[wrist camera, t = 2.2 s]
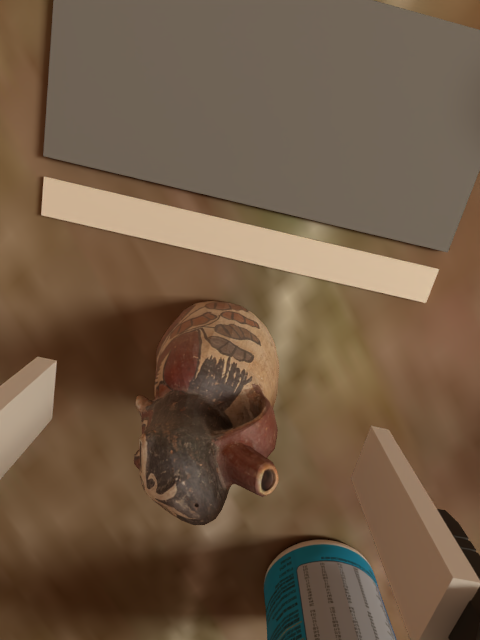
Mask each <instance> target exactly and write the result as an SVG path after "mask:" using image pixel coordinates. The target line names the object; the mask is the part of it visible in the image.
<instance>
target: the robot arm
mask: <svg viewBox="0 0 480 640" xmlns="http://www.w3.org/2000/svg"><path fill="white" fill-rule="evenodd" d="M56 365H57V361H56V360H52V359H47V358H42V357H36V358H35V359H34V360H33V361H31V362H30V363H29V364H27V365H26V366H25V367H24V368H22V369H21V370H20V371H19V372H17V373H16V374H15V375H13V376H12V377H11V378H10V379H8V380H7V381H6V382H4V383H3V384H2V385H1V386H0V479H1V478H2V477H3V476H4V474H5V473H6V472H7V471H8V470H9V469H10V467H11V466H12V465H13V464H14V463H15V462H16V460H17V459H18V458H19V457H20V456H21V455H22V453H23V452H24V451H25V450H26V449H27V448H28V446H29V445H30V444H31V443H32V442H33V441H34V439H35V438H36V437H37V436H38V435H39V434H40V432H41V431H42V430H43V429H44V428H45V427H46V425H47V424H48V423H49V422H50V421H51V420H52V414H53V402H54V389H55V377H56ZM351 481H352V483H353V486H354V489H355V492H356V494H357V497H358V500H359V502H360V505H361V508H362V511H363V513H364V516H365V519H366V521H367V524H368V527H369V529H370V532H371V535H372V538H373V540H374V543H375V546H376V548H377V551H378V554H379V557H380V559H381V562H382V565H383V567H384V570H385V573H386V576H387V578H388V581H389V584H390V586H391V589H392V592H393V595H394V597H395V600H396V603H397V605H398V608H399V611H400V614H401V616H402V619H403V622H404V624H405V627H406V630H407V632H408V635H409V638H410V640H448V639H449V640H480V556H479V554H478V553H476V549H475V548H474V546H473V545H472V543H471V542H470V541H468V537H467V535H466V534H465V532H464V531H463V529H462V528H461V526H460V525H459V523H458V522H457V521H456V520H455V519H454V518H453V517H452V516H451V515H450V514H449V513H447V512H446V511H445V510H440V509H436V507H435V505H434V504H433V502H432V500H431V499H430V497H429V495H428V494H427V492H426V490H425V489H424V487H423V486H422V484H421V482H420V481H419V479H418V477H417V476H416V474H415V472H414V471H413V469H412V467H411V466H410V464H409V462H408V461H407V459H406V457H405V456H404V454H403V453H402V451H401V449H400V448H399V446H398V444H397V443H396V441H395V439H394V438H393V436H392V434H391V433H390V431H389V430H388V429H383V428H378V427H374V426H371V428H370V430H369V433H368V435H367V438H366V440H365V443H364V446H363V448H362V451H361V453H360V456H359V458H358V461H357V463H356V466H355V469H354V471H353V474H352V476H351Z"/></svg>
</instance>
